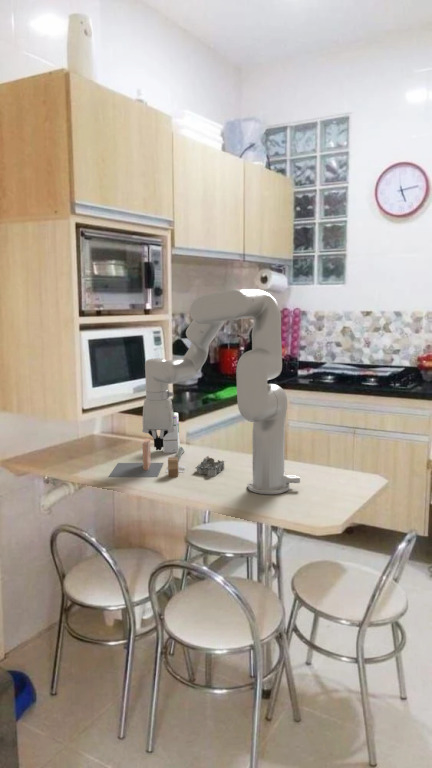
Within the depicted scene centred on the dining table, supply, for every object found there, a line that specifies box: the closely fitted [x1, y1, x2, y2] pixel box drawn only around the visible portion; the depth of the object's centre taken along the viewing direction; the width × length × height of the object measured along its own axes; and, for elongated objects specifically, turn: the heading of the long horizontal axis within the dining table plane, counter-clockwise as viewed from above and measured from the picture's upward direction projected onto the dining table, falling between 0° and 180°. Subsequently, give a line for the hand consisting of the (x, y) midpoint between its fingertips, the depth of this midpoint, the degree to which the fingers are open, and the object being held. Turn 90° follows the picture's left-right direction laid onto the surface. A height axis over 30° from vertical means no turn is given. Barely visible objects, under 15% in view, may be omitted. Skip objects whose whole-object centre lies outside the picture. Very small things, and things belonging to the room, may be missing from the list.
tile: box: [141, 438, 152, 470], centre depth 200 cm, size 2×7×9 cm, turn 178°
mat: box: [107, 462, 164, 478], centre depth 198 cm, size 16×16×1 cm
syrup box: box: [162, 411, 181, 454], centre depth 220 cm, size 6×6×14 cm
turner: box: [165, 456, 186, 478], centre depth 195 cm, size 12×6×6 cm, turn 178°
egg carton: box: [195, 455, 226, 477], centre depth 196 cm, size 11×8×4 cm
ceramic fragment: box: [167, 446, 185, 463], centre depth 213 cm, size 14×5×4 cm, turn 173°
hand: (158, 449), depth 200 cm, fingers closed
